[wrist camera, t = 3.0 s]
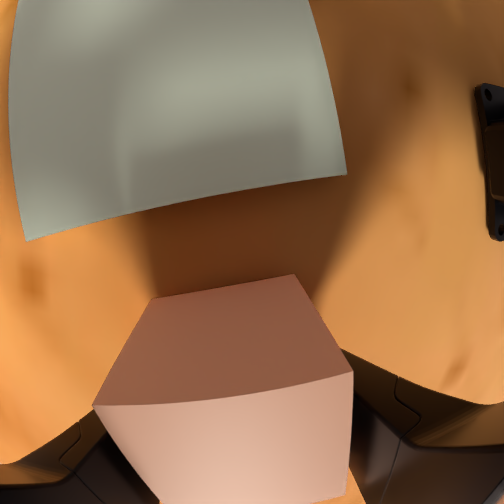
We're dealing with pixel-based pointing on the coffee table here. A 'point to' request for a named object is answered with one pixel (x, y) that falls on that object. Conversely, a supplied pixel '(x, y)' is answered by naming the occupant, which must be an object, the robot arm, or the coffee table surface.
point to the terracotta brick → (233, 398)
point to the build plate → (163, 105)
